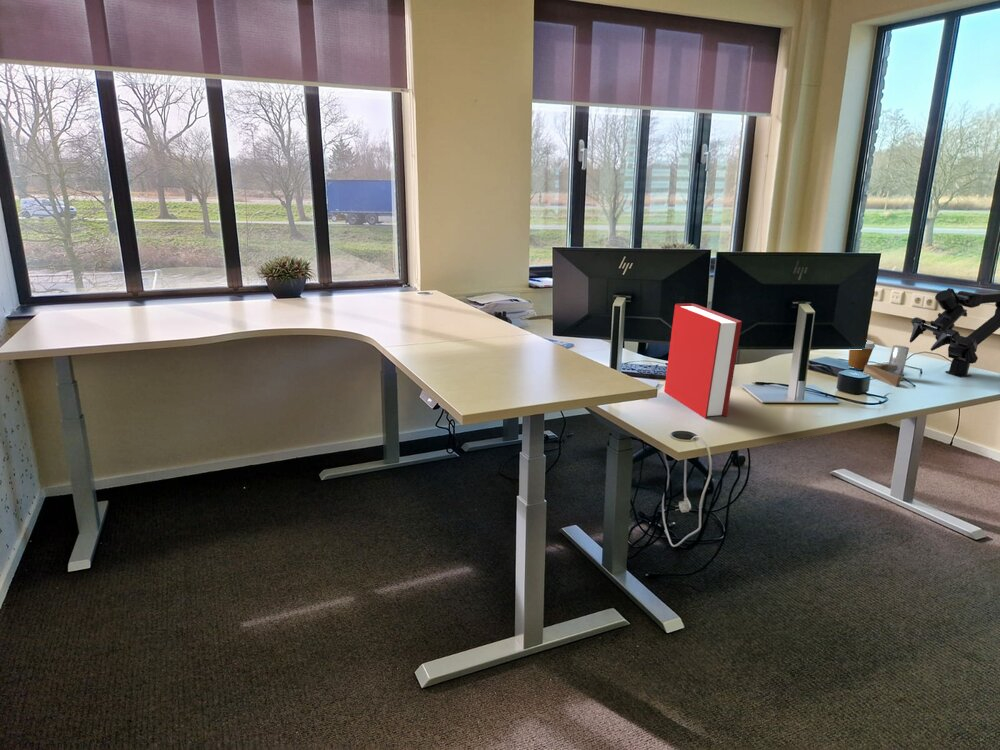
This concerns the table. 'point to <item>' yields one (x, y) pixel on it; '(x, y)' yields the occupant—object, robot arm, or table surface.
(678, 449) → the table surface
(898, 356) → the silver metal can
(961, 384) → the table surface
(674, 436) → the table surface
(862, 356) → the disposable coffee cup
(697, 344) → the book
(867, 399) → the table surface
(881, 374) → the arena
